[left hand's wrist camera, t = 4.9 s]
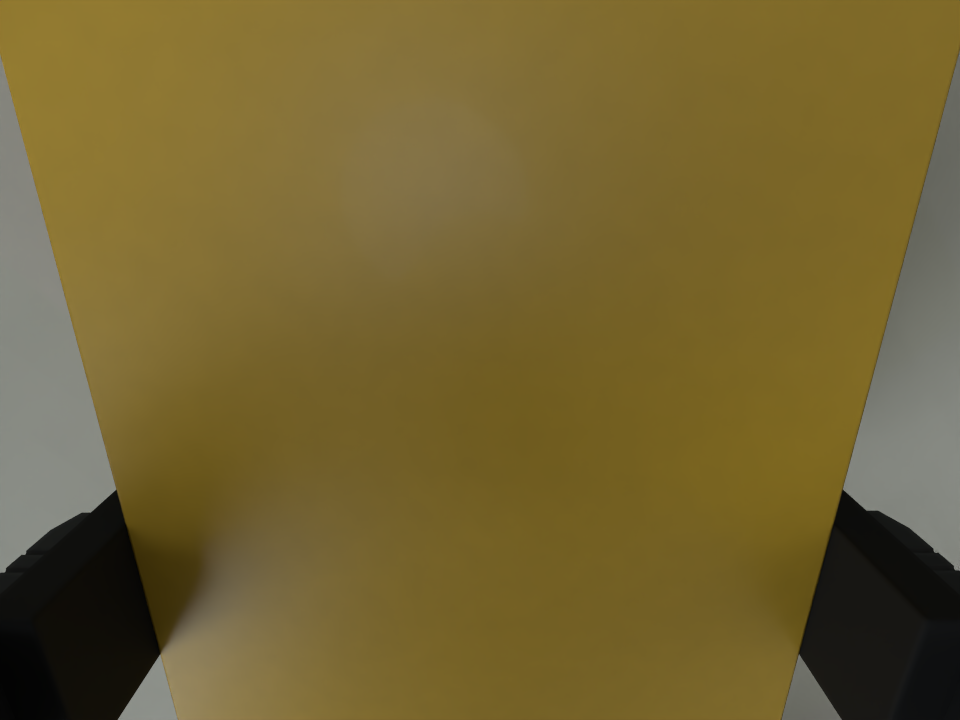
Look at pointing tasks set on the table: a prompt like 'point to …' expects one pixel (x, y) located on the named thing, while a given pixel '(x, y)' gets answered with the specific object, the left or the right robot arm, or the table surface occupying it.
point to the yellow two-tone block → (479, 331)
